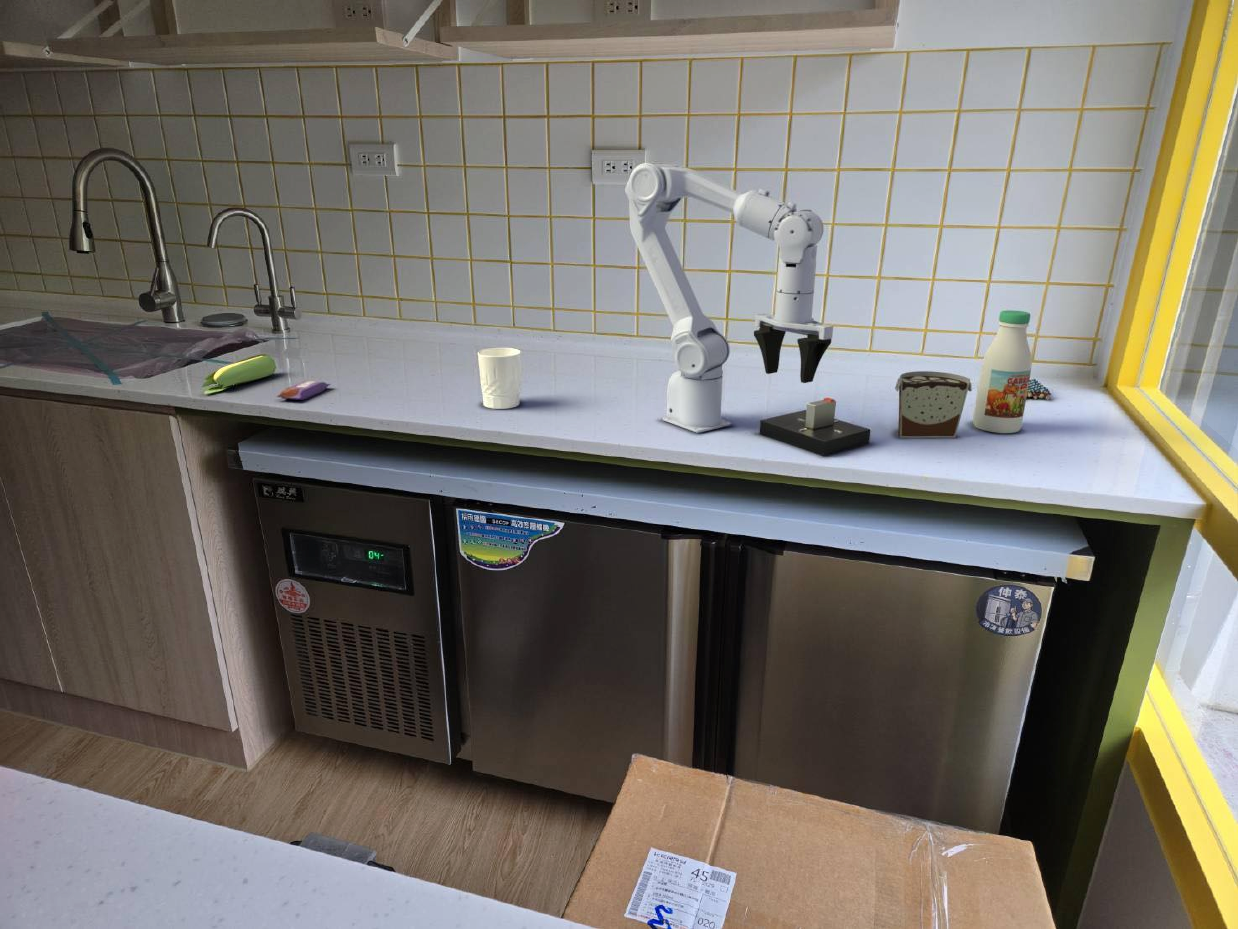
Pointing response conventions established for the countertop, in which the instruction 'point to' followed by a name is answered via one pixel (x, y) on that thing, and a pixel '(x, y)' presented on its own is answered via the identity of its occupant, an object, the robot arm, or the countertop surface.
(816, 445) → the panel
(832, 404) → the grey upright block
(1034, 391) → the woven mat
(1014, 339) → the milk bottle
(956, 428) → the food container
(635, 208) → the robot arm
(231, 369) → the edible corn
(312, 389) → the snack package
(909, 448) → the countertop surface
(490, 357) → the white cup
